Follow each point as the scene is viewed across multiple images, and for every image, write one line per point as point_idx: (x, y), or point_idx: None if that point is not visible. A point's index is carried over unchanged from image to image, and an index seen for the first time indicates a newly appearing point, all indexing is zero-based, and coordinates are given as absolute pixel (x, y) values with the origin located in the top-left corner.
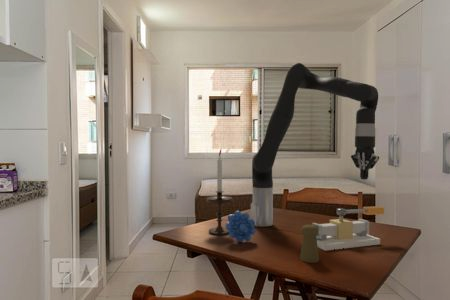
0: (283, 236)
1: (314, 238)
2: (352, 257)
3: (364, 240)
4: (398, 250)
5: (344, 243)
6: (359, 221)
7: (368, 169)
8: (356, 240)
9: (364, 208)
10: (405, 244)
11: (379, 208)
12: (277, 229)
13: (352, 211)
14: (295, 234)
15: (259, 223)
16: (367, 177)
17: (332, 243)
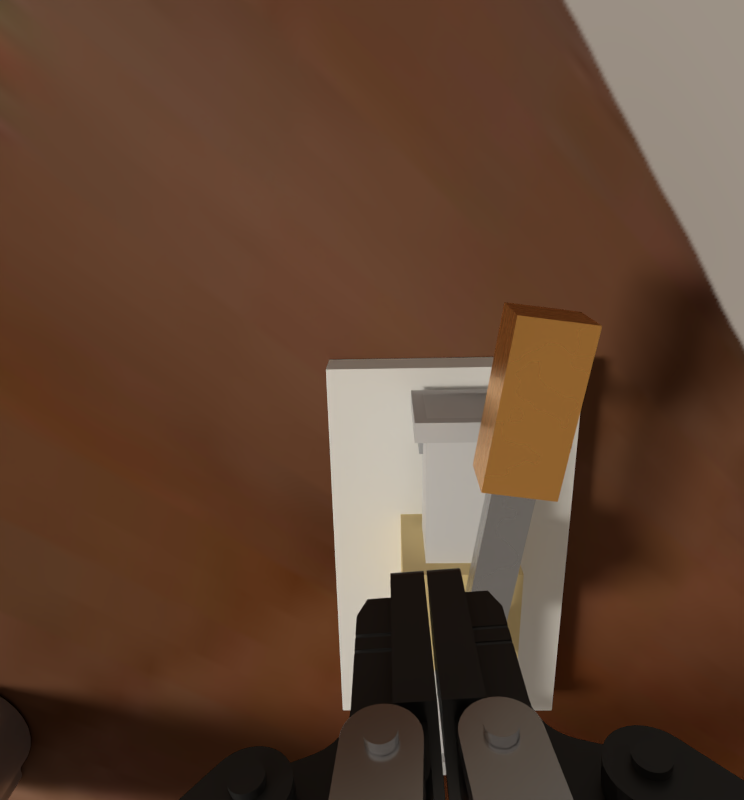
0: (251, 736)
1: None
2: (681, 635)
3: (571, 482)
4: (717, 342)
5: (560, 606)
6: (449, 454)
7: (556, 745)
8: (551, 524)
9: (505, 489)
10: (649, 191)
11: (586, 376)
12: (99, 704)
13: (508, 606)
14: (227, 670)
15: (13, 779)
16: (494, 610)
17: (545, 667)
